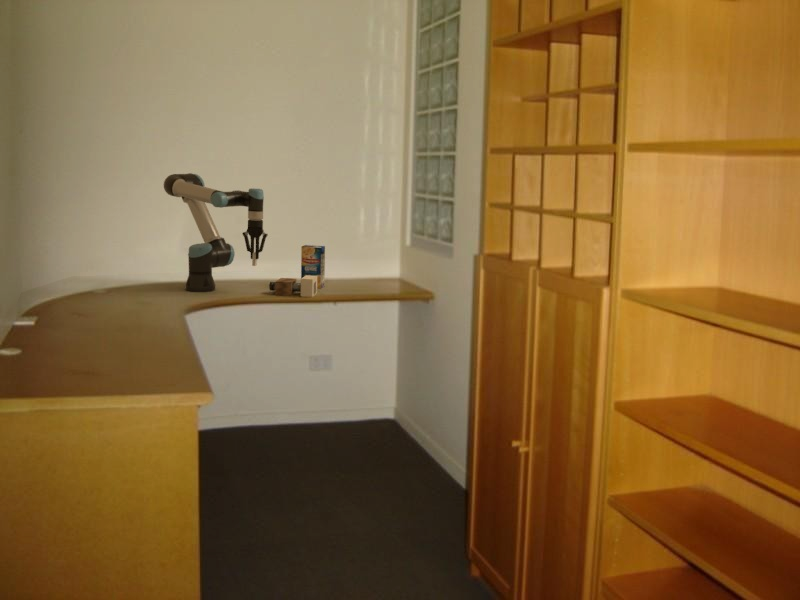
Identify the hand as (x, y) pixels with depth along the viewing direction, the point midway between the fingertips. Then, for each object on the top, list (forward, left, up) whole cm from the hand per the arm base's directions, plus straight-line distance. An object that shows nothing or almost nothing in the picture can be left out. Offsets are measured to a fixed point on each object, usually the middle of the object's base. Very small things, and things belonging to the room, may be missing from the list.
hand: (254, 265), depth 466 cm
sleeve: (+17, 0, -14) cm, 22 cm away
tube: (+20, 0, -13) cm, 23 cm away
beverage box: (+26, +24, -14) cm, 38 cm away
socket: (+29, 0, -14) cm, 32 cm away
